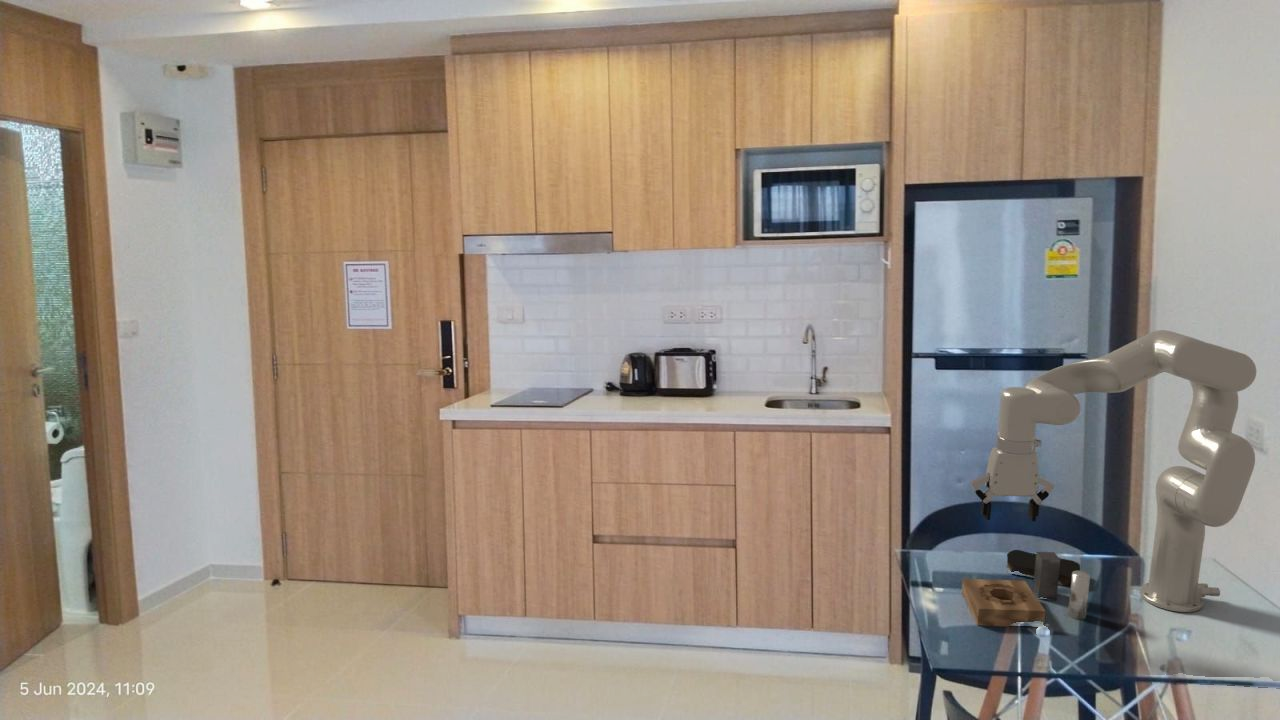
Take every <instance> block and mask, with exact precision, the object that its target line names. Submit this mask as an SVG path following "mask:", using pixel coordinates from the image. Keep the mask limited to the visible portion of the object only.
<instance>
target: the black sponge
mask: <svg viewBox="0 0 1280 720" xmlns="http://www.w3.org/2000/svg"><path fill="white" fill-rule="evenodd" d="M1006 555H1007V556H1006V559H1007V560H1006V568H1007V569H1008V570H1010V571H1011V572H1014V571H1019V572H1020V573H1022V574H1025V575H1030V576H1032V577H1034V572H1035V562H1036V553H1034V552H1028V551H1025V550H1020V549H1013V550H1011V551H1009V552H1008V553H1007V554H1006ZM1058 558H1059V559H1060V569H1059V579H1058V585H1060V586H1062V587H1069V588H1071V578H1072V572H1073V571H1081V564H1080V563H1078V562H1077V561H1074V560H1071V559H1067V558H1066V559H1065V558H1061V557H1058Z"/></svg>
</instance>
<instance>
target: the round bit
mask: <svg viewBox="0 0 1280 720" xmlns="http://www.w3.org/2000/svg"><path fill="white" fill-rule="evenodd" d="M1090 580H1091V574H1090V573H1088V572H1086V571H1084V570H1080V571H1073V572H1072V578H1071V587H1069V588H1070V590H1069V599H1068V608H1067V615H1068V616H1069V618H1072V619H1074V620H1085V619H1086V617H1087V609H1088V600H1089V599H1088V598H1089V590H1090V583H1091V581H1090Z"/></svg>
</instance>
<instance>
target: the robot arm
mask: <svg viewBox="0 0 1280 720" xmlns="http://www.w3.org/2000/svg"><path fill="white" fill-rule="evenodd" d="M1162 373H1163V374H1164V373H1167V374H1170V375H1173V376H1176V377H1178V378H1182V379H1184V380H1187V381H1189V382H1190V385H1191V388H1192V401H1191V405H1190V409H1189V412H1188V415H1187V417H1186V421H1185V423H1184V426H1183V428H1182V431H1181V434H1180V437H1179V440H1178V444H1177V449H1178V453H1179V455H1180V456H1181V457H1182V458H1183V459H1184V460H1185V461H1188V462H1189V463H1191V464H1192V465H1195V466H1197V467H1198V468H1201V469H1203V470H1204V471H1205V474H1204V473H1201V472H1200V471H1197V470H1195V469H1193V468H1191V467H1188V466H1182V465H1177V466H1176V465H1175V466H1170V467H1168V468H1166V469H1164V470H1163V471H1162V472H1161V473H1160V474H1159V476H1158V478H1157V481H1156V483H1155V484H1156V485H1155V497H1156V498H1155V499H1156V523H1155V524H1156V525H1155V533H1154V539H1153V540H1154V541H1153V546H1152V547H1153V548H1152V555H1151V563H1150V570H1149V571H1150V572H1149V576H1148V577H1149V579H1148V583H1143V584H1142V585H1141V587H1140V589H1139V595H1140V597H1142V599H1143V600H1145V601H1146V602H1147V603H1150V604H1151V605H1153V606H1155V607H1158V608H1161V609H1162V610H1163V609H1164V610H1165V611H1166V610H1168V611H1173V612H1177V613H1178V612H1179V613H1193V612H1198V611H1200V610H1201V609H1202V608H1203V607H1204V603H1205V602H1204V599H1203V598H1205V597H1206V596H1210V597H1219V596H1221V591H1220V590H1221V589H1220V588H1219V587H1216V586H1215V587H1209V584H1208V583H1207V582H1206V583H1203V582H1202V583H1199V578H1200V571H1201V564H1202V557H1203V551H1204V542H1205V537H1206V526H1208V527H1212V528H1218V527H1222V526H1225V525H1226V524H1227V525H1228V523H1229V522H1230V521H1232V519H1234V517H1235V515H1236V514H1237V512H1238V511H1239V509H1240V507H1241V503H1242V501H1243V499H1244V495H1245V493H1246V491H1247V488H1248V485H1249V483H1250V480H1251V477H1252V474H1253V471H1254V469H1255V465H1256V453H1255V450H1254V448H1253V446H1252V444H1251V443H1250V442H1249V441H1248V440H1247V439H1246V438H1244V437H1242V436H1240V435H1238V434H1235V433H1233V432H1232V431H1233V426H1234V424H1235V421H1236V420H1235V419H1236V416H1237V412H1238V409H1239V395H1238V394H1239V392H1241V391H1244V390H1246V389H1247V388H1249V387H1250V386H1251V385H1252V384H1253V383H1254V382H1255V379H1256V377H1257V366H1256V364H1255V362H1254V360H1253V359H1252V358H1251V357H1250V356H1248V355H1247V354H1245V353H1243V352H1239V351H1236V350H1232V349H1229V348H1225V347H1223V346H1220V345H1218V344H1217V345H1216V344H1213V343H1209V342H1206V341H1204V340H1200V339H1197V338H1195V337H1192V336H1189V335H1188V336H1187V335H1185V334H1182V333H1181V334H1180V333H1177V332H1175V331H1171V330H1166V329H1159V330H1153V331H1151V332H1149V333H1147V334H1145V335H1144V336H1142V337H1139V338H1137V339H1136V340H1133V341H1131V342H1129V343H1127V344H1125V345H1123V346H1121V347H1119V348H1118V349H1115V350H1112V351H1111V352H1109V353H1107V354H1105V355H1103V356H1100V357H1097V358H1089V359H1085V360H1081V361H1077V362H1072V363H1068V364H1067V363H1066V364H1064V365H1061V366H1058V367H1055V368H1052V369H1050V370H1048V371H1046V372H1045V373H1042V374H1040V375H1038V376H1036V377H1034V378H1033V379H1032V380H1030V381H1029V382H1027V383H1026V385H1024V386H1022V387H1020V386H1011V387H1006V388H1005V389H1003V390H1002V391H1001V393H1000V398H999V412H998V423H997V436H996V446H994V447H992V448H991V451H990V454H989V458H988V462H987V467H986V473H985V474H984V475H981V476H979V477H977V478H975V479H973V480H971V481H970V482H969V484H970V485H971V487H972V489H973V491H974V494H975V495H976V496H977V497H978V498H979V499H980V500H981V508H980V509H981V510H980V513H981V516H983V517H984V519H985V520H986V521H990V520H991V514H992V503H991V500H993V498H995V497H996V496H998V497H1002V496H1003V497H1031V499H1029V501H1028V512H1027V517H1028V518H1029V520H1030V521H1031V522H1034V523H1035V522H1037V518H1038V517H1039V513H1040V512H1039V511H1040V505H1042V503H1043V501H1045V500H1046V499H1048V497H1049V495H1050V494H1051V493H1052V491H1053V489H1054V488H1055V485H1054V483H1053V482H1052V481H1049V480H1047V479H1046V478H1044V477H1042V476H1040V475H1039V459H1038V453H1037V451H1036V447H1041V446H1042V440H1041V439H1037V438H1036V432H1037V424H1042V425H1043V424H1045V425H1052V426H1053V425H1054V426H1064V425H1068V424H1071V423H1073V422H1074V421H1075V420H1077V418H1079V415H1080V413H1081V404H1080V401H1079V399H1078V398H1077V397H1076V396H1075V395H1079V394H1084V393H1085V394H1086V393H1100V394H1101V393H1103V394H1104V393H1105V394H1110V393H1112V394H1113V393H1114V394H1115V393H1123V392H1126V391H1128V390H1129V389H1132V388H1133V387H1135V386H1138V385H1140V384H1142V383H1143V382H1146V381H1147V380H1150V379H1152V378H1154V377H1156V376H1158V375H1160V374H1162ZM984 484H985V487H986V489H985V490H983V491H982V490H981V489H980V486H982V485H984ZM1039 485H1041V486H1043V489H1041V490H1040V491H1039ZM1038 491H1039V492H1038Z"/></svg>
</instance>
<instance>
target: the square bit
mask: <svg viewBox="0 0 1280 720" xmlns="http://www.w3.org/2000/svg"><path fill="white" fill-rule="evenodd" d="M1035 554H1036V562H1035V572H1034V579H1033V585H1032V590H1033V589H1034V591H1035V593H1036V594H1037V596H1038V598H1040V597H1043V598H1047V599H1050V600H1049V601H1052V600H1051V599H1056V600H1057V597H1058V587H1059V586H1058V585H1059V584H1058V579H1059V569H1060V559H1059V558H1060V557H1058V555H1057V554H1056V552H1055V551H1054V552H1052V551H1036V553H1035ZM1037 596H1036V597H1037ZM1038 598H1037V599H1038ZM1047 599H1046V600H1047Z"/></svg>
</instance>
